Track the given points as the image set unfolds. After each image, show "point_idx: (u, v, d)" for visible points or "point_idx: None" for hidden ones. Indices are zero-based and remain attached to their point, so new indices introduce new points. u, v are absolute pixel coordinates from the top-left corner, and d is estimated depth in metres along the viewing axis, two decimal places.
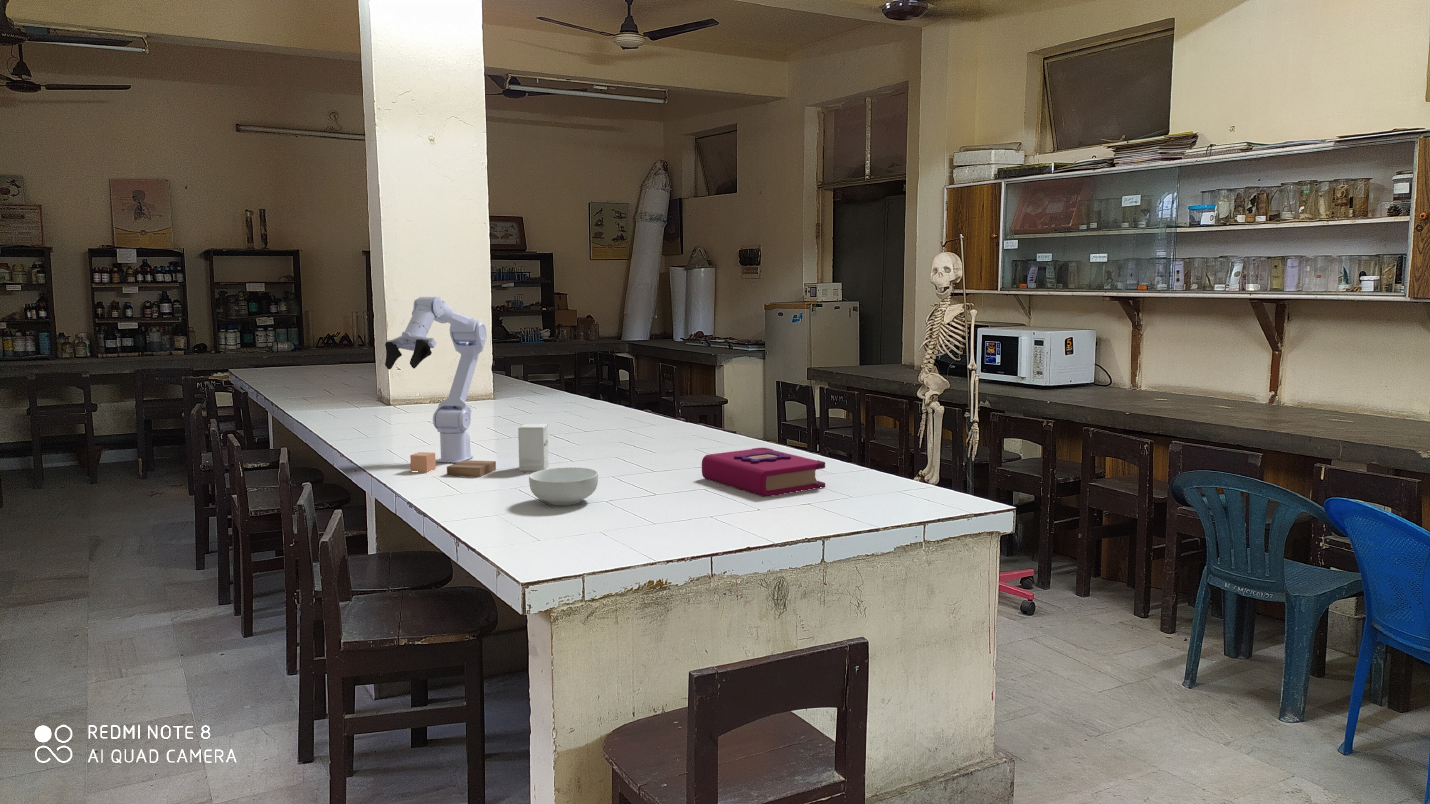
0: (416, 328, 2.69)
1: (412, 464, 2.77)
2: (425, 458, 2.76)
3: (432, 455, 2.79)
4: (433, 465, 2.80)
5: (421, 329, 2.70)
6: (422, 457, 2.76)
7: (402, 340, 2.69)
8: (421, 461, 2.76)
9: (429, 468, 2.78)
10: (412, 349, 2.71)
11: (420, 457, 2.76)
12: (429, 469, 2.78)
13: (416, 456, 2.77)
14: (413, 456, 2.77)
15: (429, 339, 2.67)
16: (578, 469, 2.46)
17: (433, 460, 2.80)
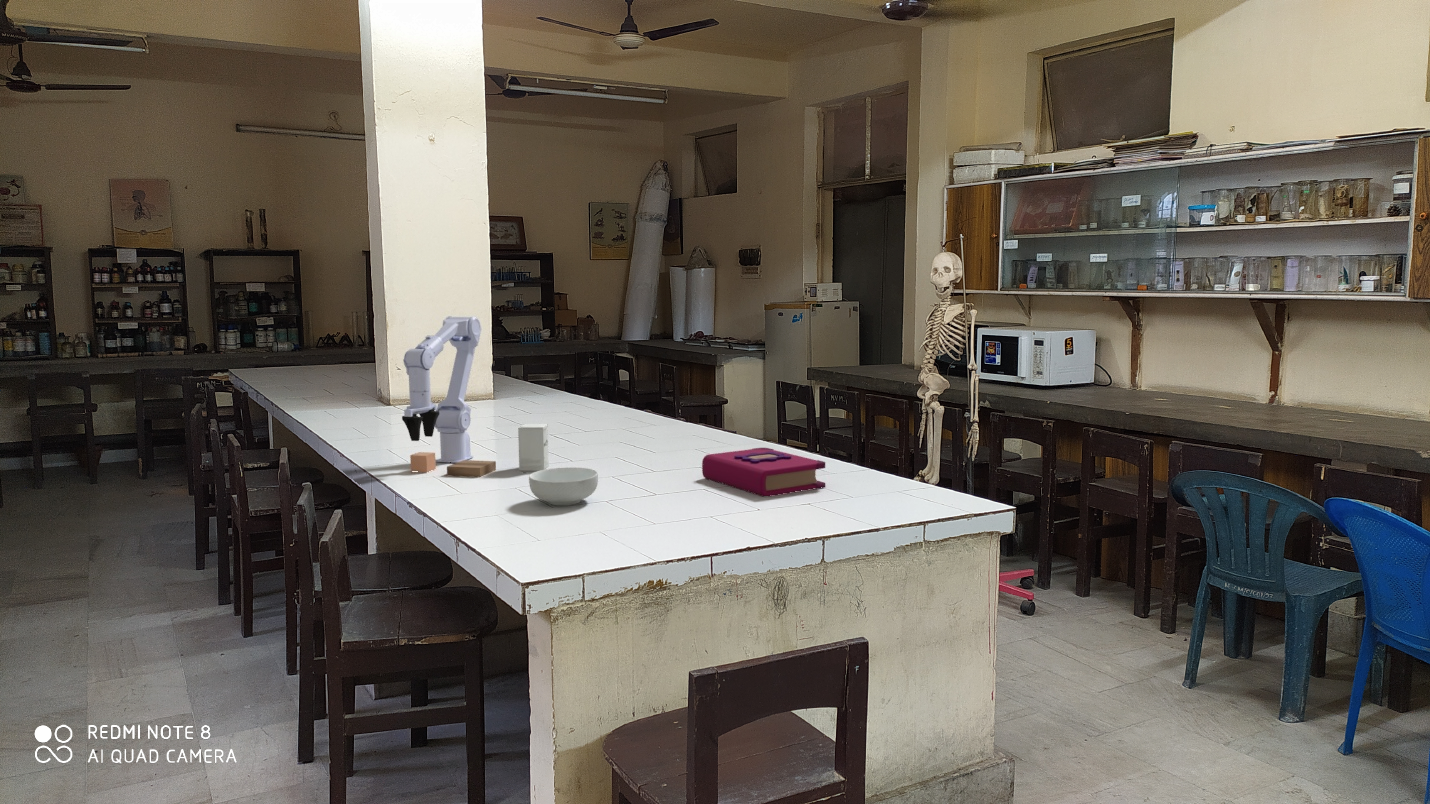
0: None
1: (412, 464, 2.77)
2: (425, 458, 2.76)
3: (432, 455, 2.79)
4: (433, 465, 2.80)
5: (411, 396, 2.75)
6: (422, 457, 2.76)
7: None
8: (421, 461, 2.76)
9: (429, 468, 2.78)
10: None
11: (420, 457, 2.76)
12: (429, 469, 2.78)
13: (416, 456, 2.77)
14: (413, 456, 2.77)
15: None
16: (578, 469, 2.46)
17: (433, 460, 2.80)
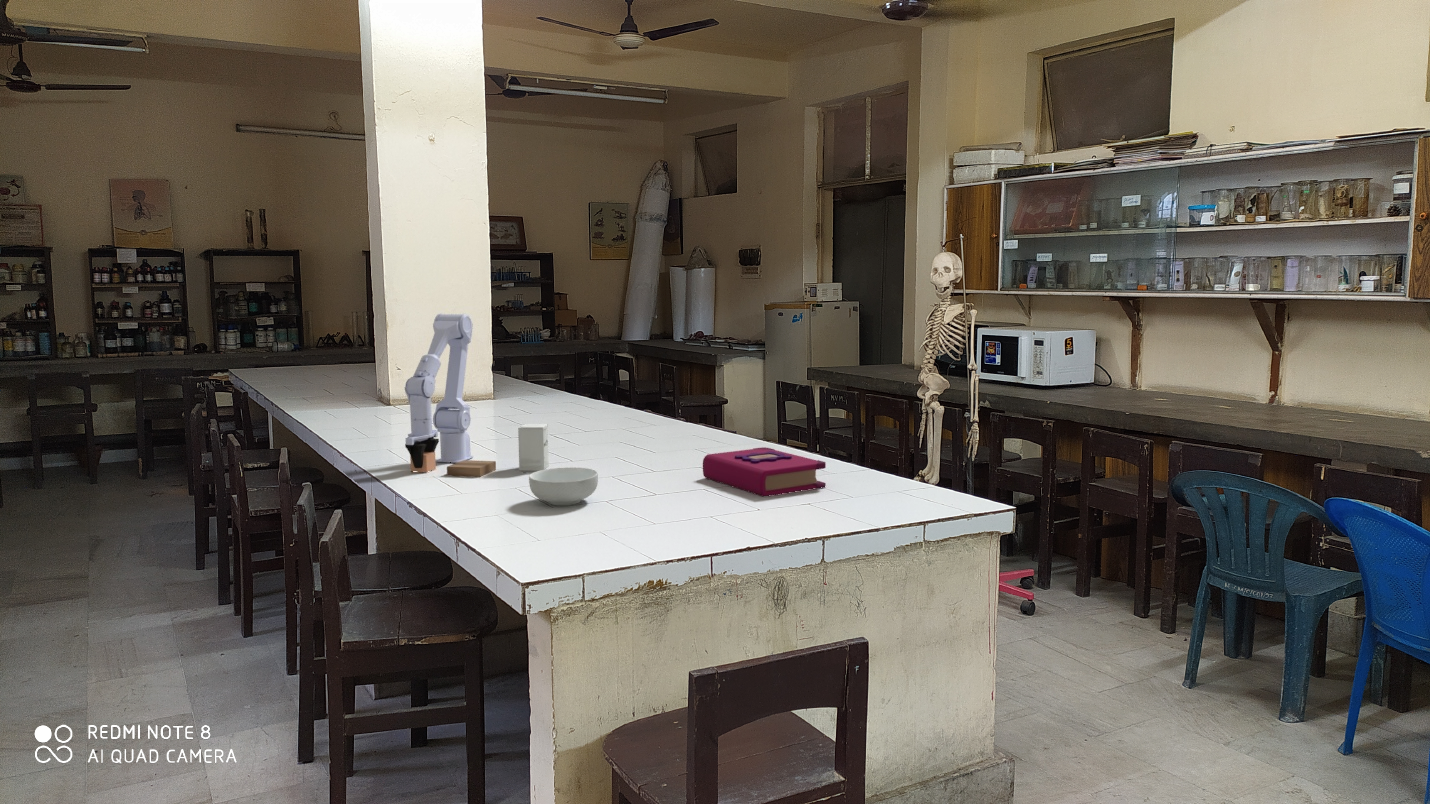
0: (411, 425, 2.77)
1: (412, 464, 2.77)
2: (425, 457, 2.76)
3: (432, 455, 2.79)
4: (433, 464, 2.80)
5: (412, 424, 2.76)
6: None
7: None
8: None
9: (429, 467, 2.78)
10: None
11: None
12: (429, 469, 2.78)
13: None
14: None
15: None
16: (578, 469, 2.46)
17: (433, 460, 2.80)
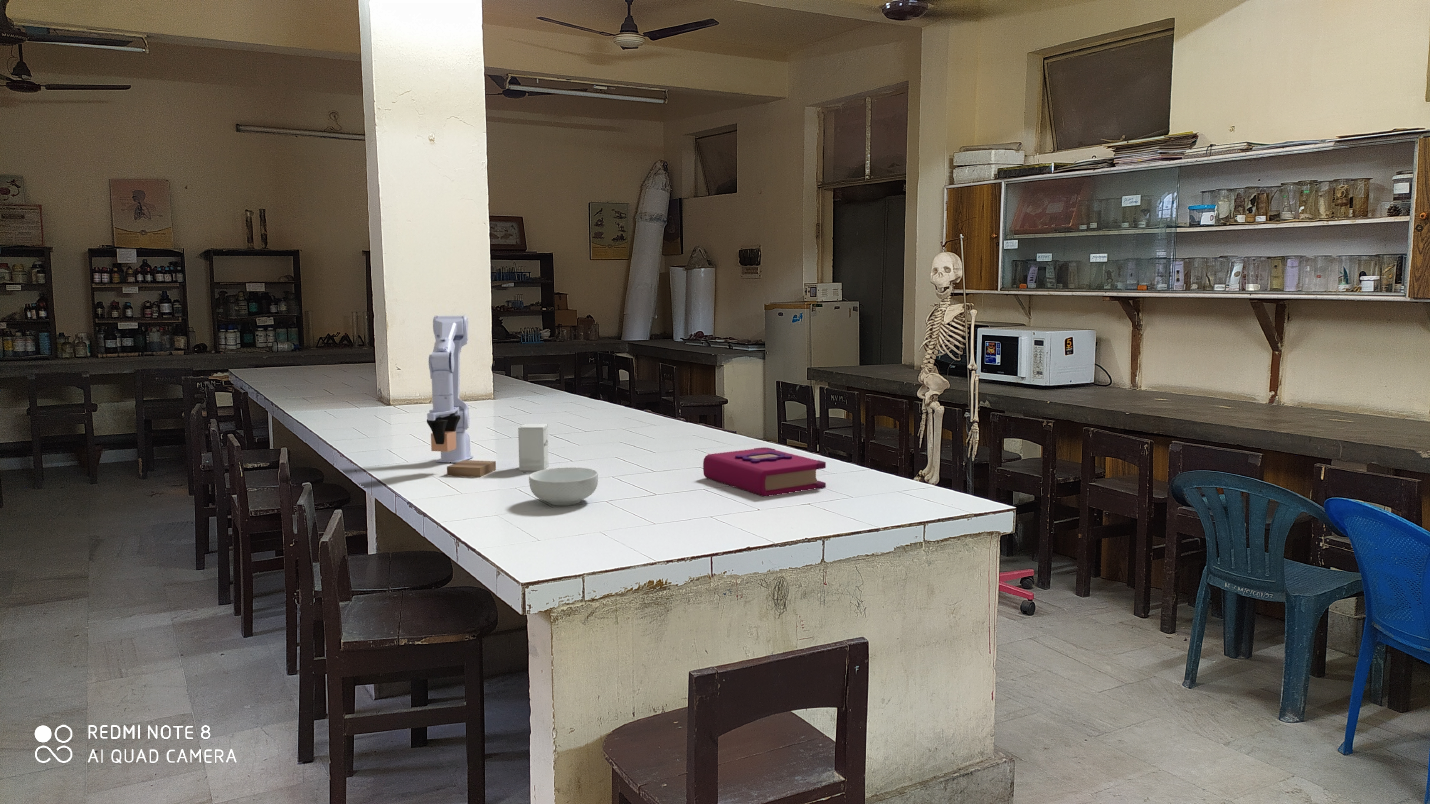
0: None
1: (433, 443, 2.75)
2: (445, 436, 2.74)
3: (453, 434, 2.77)
4: (454, 444, 2.78)
5: (434, 400, 2.73)
6: None
7: None
8: None
9: (449, 446, 2.75)
10: (452, 412, 2.76)
11: None
12: (449, 448, 2.75)
13: None
14: None
15: None
16: (578, 469, 2.46)
17: (453, 439, 2.78)
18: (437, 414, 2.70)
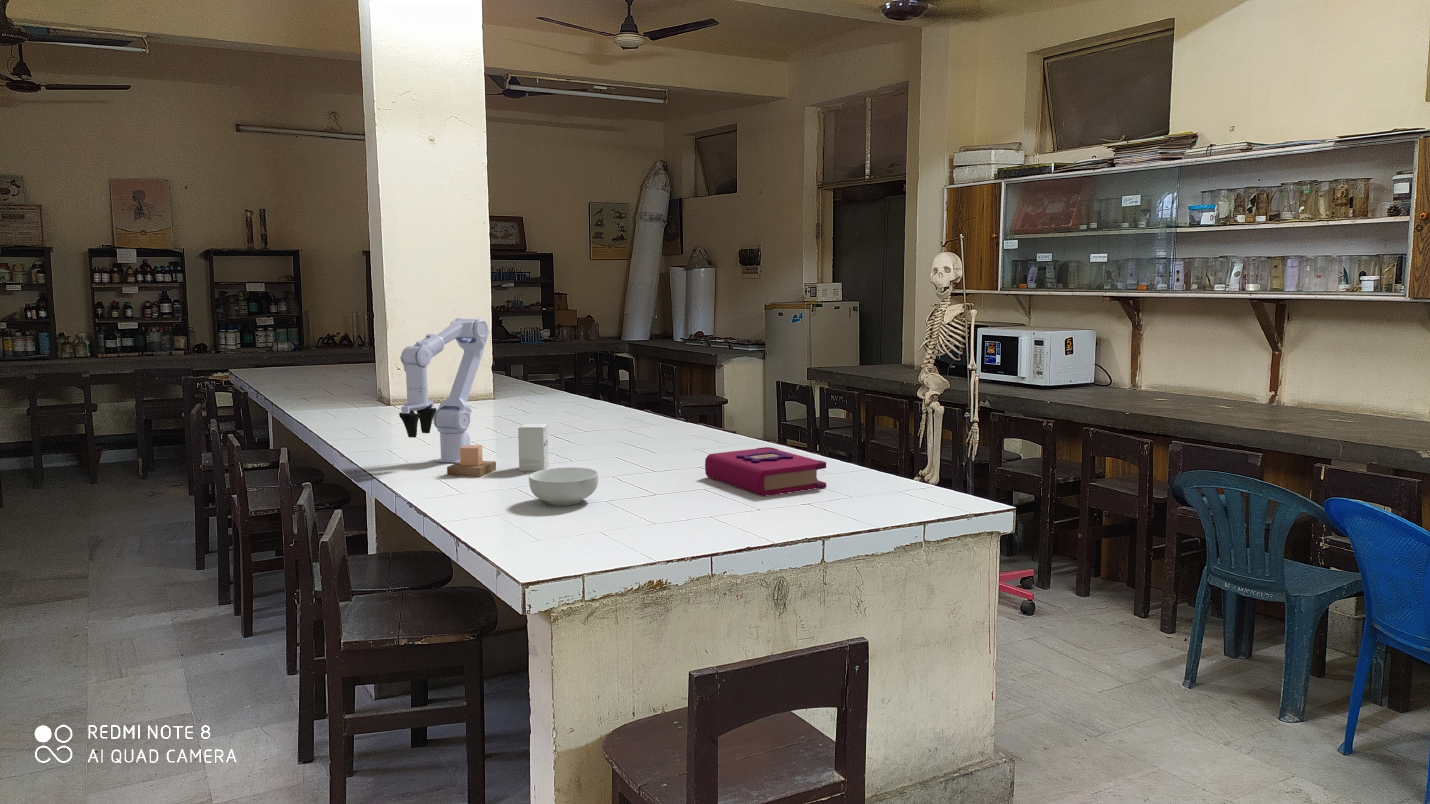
0: None
1: (462, 457, 2.73)
2: (476, 450, 2.73)
3: (480, 447, 2.76)
4: (481, 457, 2.77)
5: (408, 393, 2.77)
6: (473, 449, 2.73)
7: None
8: (472, 453, 2.73)
9: (479, 460, 2.74)
10: (426, 406, 2.80)
11: (471, 449, 2.73)
12: (479, 461, 2.75)
13: (466, 449, 2.73)
14: (463, 449, 2.73)
15: None
16: (578, 469, 2.46)
17: (481, 452, 2.77)
18: (411, 407, 2.74)
